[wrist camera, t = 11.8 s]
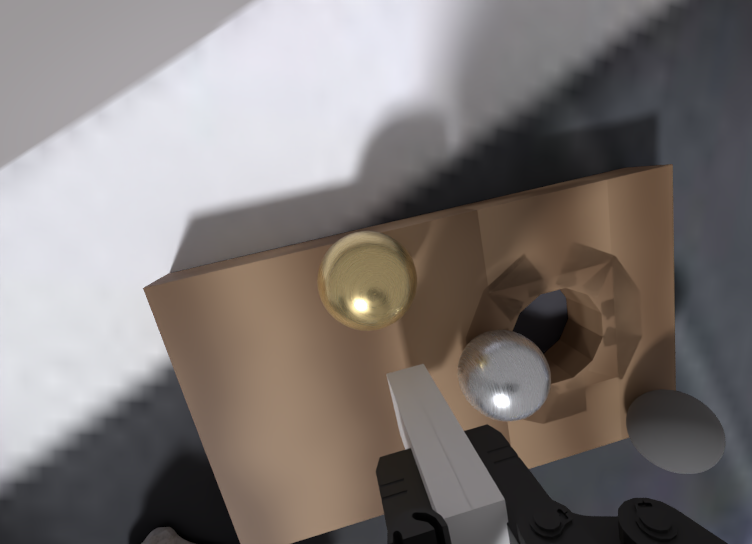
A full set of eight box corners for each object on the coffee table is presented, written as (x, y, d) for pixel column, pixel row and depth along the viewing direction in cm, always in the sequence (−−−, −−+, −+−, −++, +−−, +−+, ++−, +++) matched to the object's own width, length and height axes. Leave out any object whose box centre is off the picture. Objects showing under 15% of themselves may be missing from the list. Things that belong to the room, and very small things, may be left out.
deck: (254, 511, 19) (245, 557, 17) (168, 273, 16) (143, 288, 14) (635, 396, 22) (676, 422, 19) (625, 167, 18) (672, 164, 16)
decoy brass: (329, 321, 15) (332, 359, 12) (307, 237, 14) (304, 252, 11) (411, 300, 16) (438, 331, 12) (395, 217, 15) (419, 225, 11)
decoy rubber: (610, 447, 19) (674, 503, 15) (606, 386, 18) (673, 432, 15) (671, 428, 19) (747, 479, 16) (670, 367, 18) (750, 407, 15)
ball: (521, 377, 17) (451, 401, 17) (511, 308, 16) (437, 331, 16) (575, 422, 14) (491, 454, 13) (567, 338, 13) (477, 369, 12)
